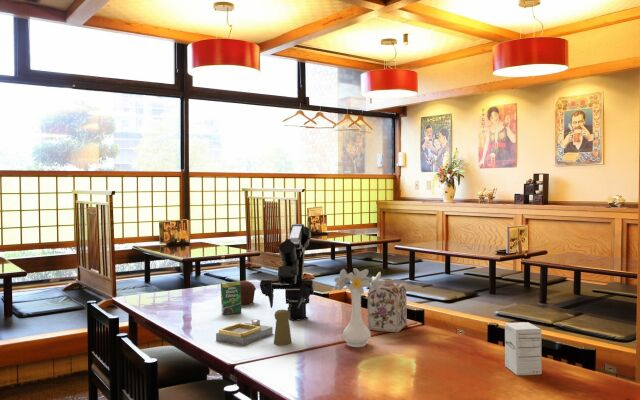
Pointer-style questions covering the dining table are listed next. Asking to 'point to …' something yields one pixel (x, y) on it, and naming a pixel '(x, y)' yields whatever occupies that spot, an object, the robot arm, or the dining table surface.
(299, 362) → the dining table surface
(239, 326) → the grey base with knob
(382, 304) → the decorative jar
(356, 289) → the flower vase
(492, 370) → the dining table surface
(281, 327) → the cork
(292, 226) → the robot arm
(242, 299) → the muffin
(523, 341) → the supplement box
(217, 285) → the dining table surface
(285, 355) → the dining table surface
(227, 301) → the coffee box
